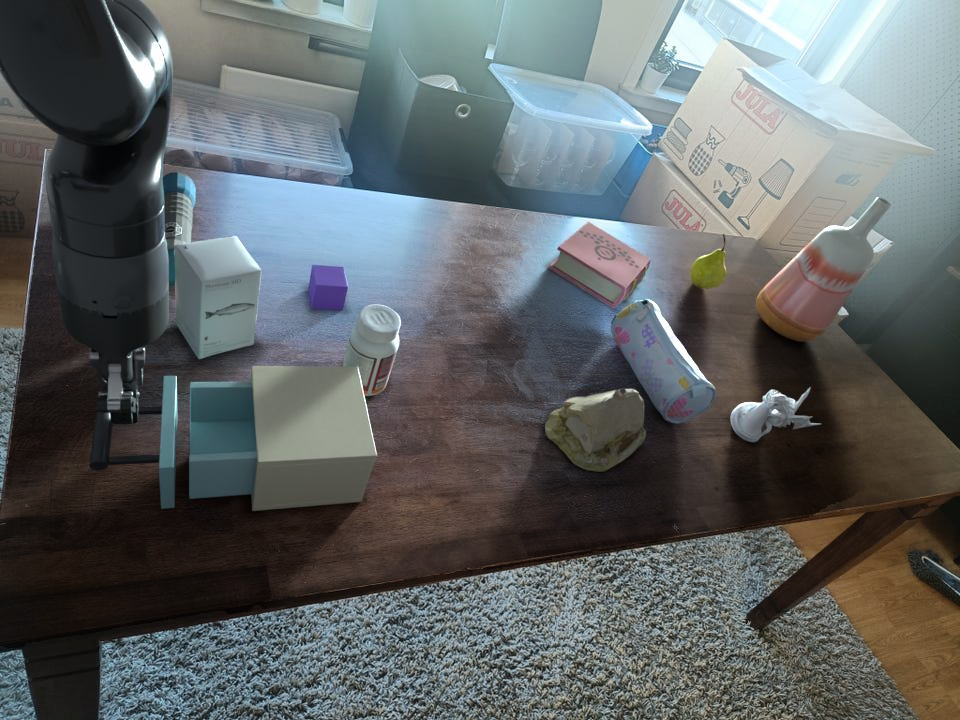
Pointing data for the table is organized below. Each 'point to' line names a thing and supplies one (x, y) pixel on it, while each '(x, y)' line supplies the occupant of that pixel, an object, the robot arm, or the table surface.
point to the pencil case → (661, 362)
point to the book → (600, 264)
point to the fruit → (709, 269)
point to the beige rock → (598, 428)
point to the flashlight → (177, 214)
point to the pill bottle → (373, 346)
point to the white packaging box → (216, 295)
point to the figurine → (767, 415)
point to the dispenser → (310, 436)
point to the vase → (819, 279)
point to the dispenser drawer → (196, 440)
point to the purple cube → (327, 287)
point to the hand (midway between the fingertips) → (125, 418)
